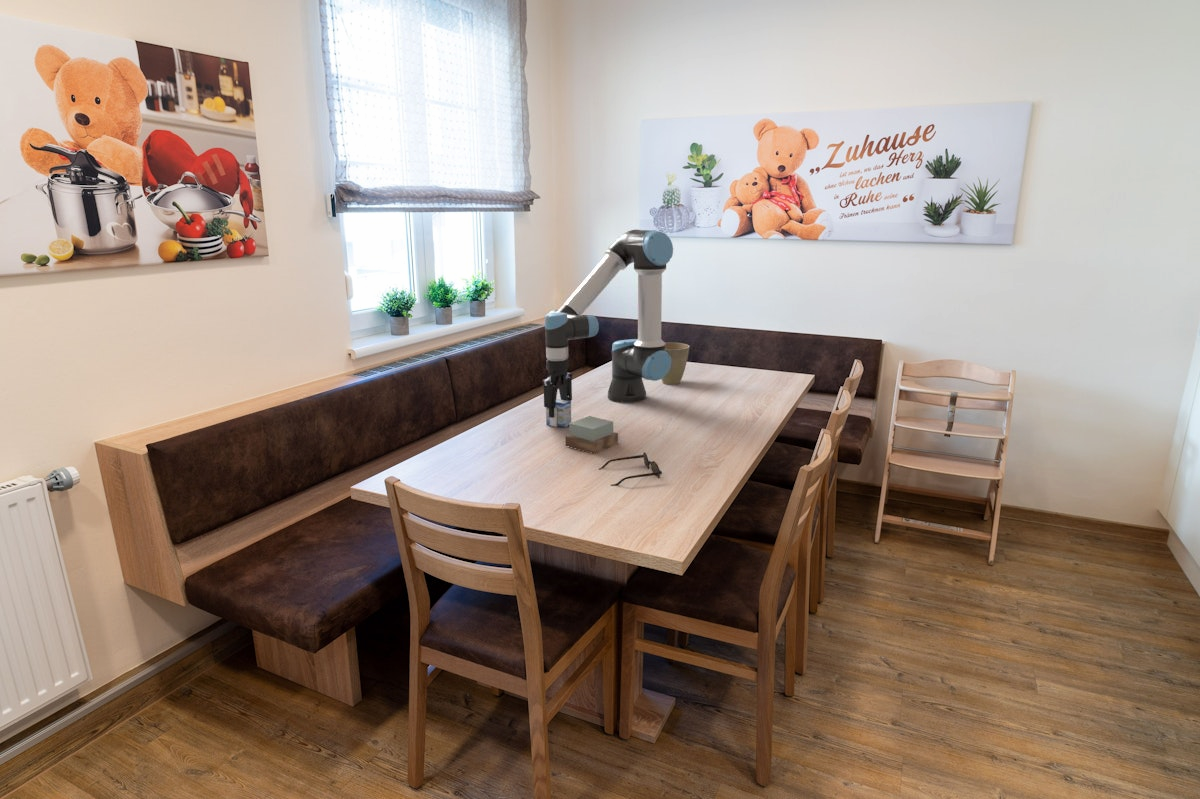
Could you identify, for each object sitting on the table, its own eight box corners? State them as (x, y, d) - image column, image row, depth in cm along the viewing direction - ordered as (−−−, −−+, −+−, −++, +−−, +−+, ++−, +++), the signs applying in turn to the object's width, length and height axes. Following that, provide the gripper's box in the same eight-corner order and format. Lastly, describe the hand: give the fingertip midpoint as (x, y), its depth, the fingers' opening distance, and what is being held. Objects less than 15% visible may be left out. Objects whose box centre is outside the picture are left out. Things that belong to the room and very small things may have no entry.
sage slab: (589, 427, 237) (589, 415, 236) (613, 433, 230) (613, 421, 229) (569, 435, 229) (569, 423, 228) (593, 441, 223) (593, 429, 222)
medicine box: (545, 424, 251) (545, 400, 248) (552, 421, 255) (551, 397, 252) (565, 427, 247) (564, 403, 245) (571, 424, 251) (571, 400, 249)
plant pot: (664, 376, 315) (665, 341, 311) (694, 381, 307) (695, 344, 303) (646, 384, 304) (647, 346, 299) (677, 389, 295) (678, 351, 291)
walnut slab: (588, 438, 239) (588, 426, 238) (618, 445, 232) (617, 433, 231) (565, 448, 229) (565, 436, 228) (595, 455, 222) (595, 443, 221)
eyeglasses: (662, 482, 201) (662, 465, 200) (611, 488, 197) (611, 471, 196) (644, 464, 215) (644, 448, 214) (596, 469, 211) (596, 453, 209)
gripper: (565, 352, 254) (566, 415, 260) (531, 362, 240) (533, 428, 246) (582, 355, 249) (583, 419, 256) (548, 365, 235) (550, 432, 242)
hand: (558, 423), depth 251 cm, fingers closed on medicine box, 5 cm apart
